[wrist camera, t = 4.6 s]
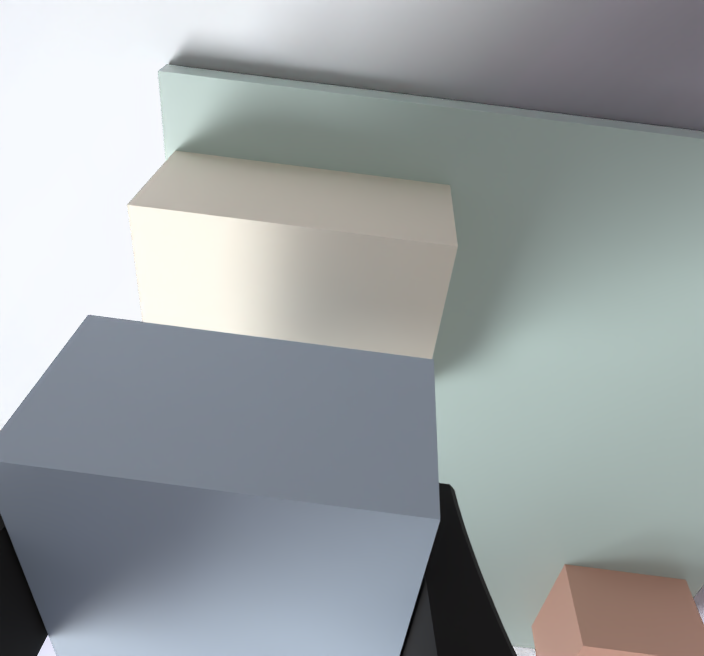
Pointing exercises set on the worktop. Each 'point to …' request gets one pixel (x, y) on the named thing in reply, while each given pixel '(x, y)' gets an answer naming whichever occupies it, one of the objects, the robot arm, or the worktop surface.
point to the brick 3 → (617, 616)
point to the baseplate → (527, 312)
